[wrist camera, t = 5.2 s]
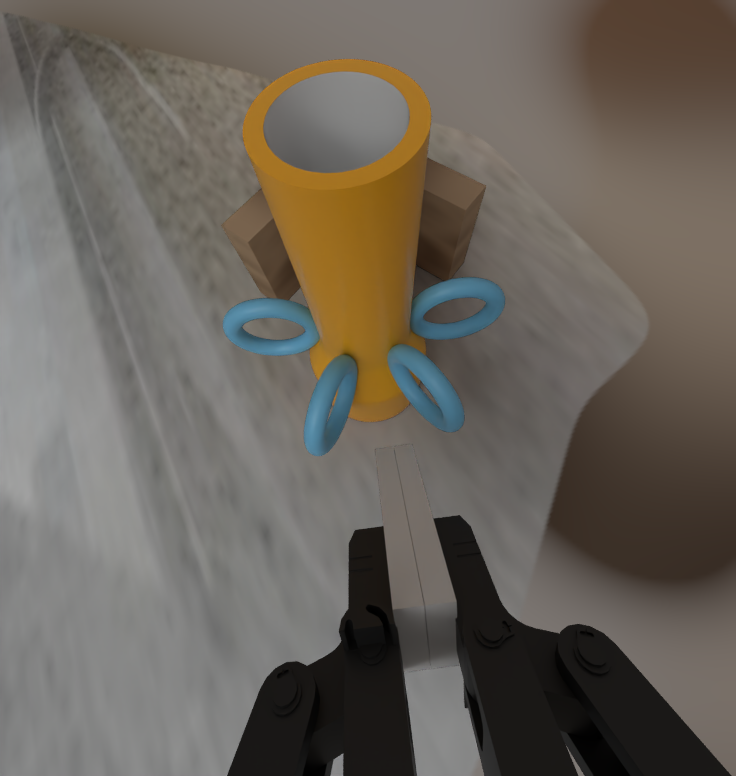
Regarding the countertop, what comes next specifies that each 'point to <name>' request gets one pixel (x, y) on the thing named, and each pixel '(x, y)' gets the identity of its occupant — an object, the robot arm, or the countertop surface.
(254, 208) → the v block
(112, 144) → the countertop surface
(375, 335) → the yellow and blue tube
